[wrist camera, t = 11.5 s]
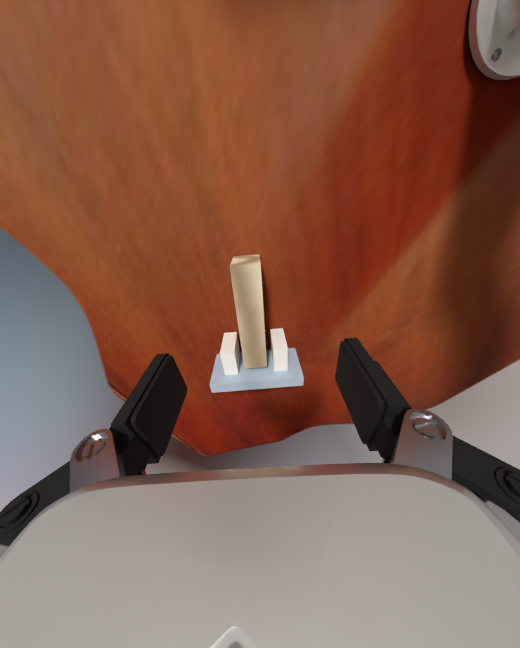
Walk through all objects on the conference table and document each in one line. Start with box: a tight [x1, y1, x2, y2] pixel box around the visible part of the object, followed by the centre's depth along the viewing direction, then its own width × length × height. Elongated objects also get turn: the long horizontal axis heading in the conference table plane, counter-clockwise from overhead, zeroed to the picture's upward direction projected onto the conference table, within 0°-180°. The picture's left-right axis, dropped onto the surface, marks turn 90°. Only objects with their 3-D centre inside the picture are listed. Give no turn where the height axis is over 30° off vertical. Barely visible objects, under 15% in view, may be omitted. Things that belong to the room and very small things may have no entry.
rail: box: [230, 254, 267, 369], centre depth 32 cm, size 4×18×6 cm, turn 4°
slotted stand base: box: [210, 328, 304, 393], centre depth 35 cm, size 7×16×8 cm, turn 94°
